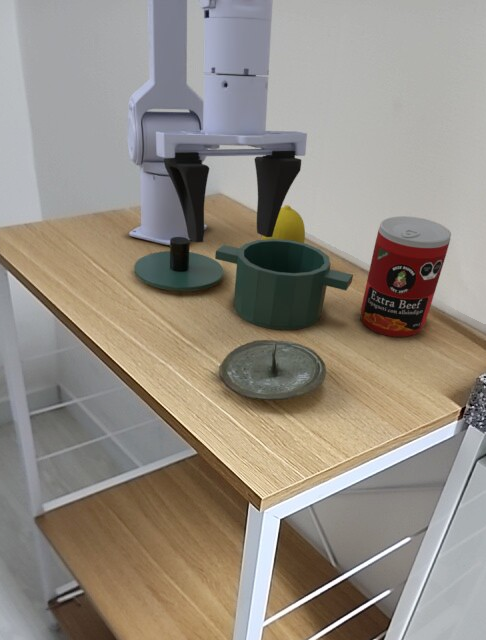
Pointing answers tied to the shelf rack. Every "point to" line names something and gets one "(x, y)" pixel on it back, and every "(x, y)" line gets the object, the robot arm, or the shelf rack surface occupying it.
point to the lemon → (288, 226)
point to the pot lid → (179, 268)
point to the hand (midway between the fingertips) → (231, 237)
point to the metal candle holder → (272, 370)
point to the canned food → (403, 275)
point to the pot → (281, 282)
